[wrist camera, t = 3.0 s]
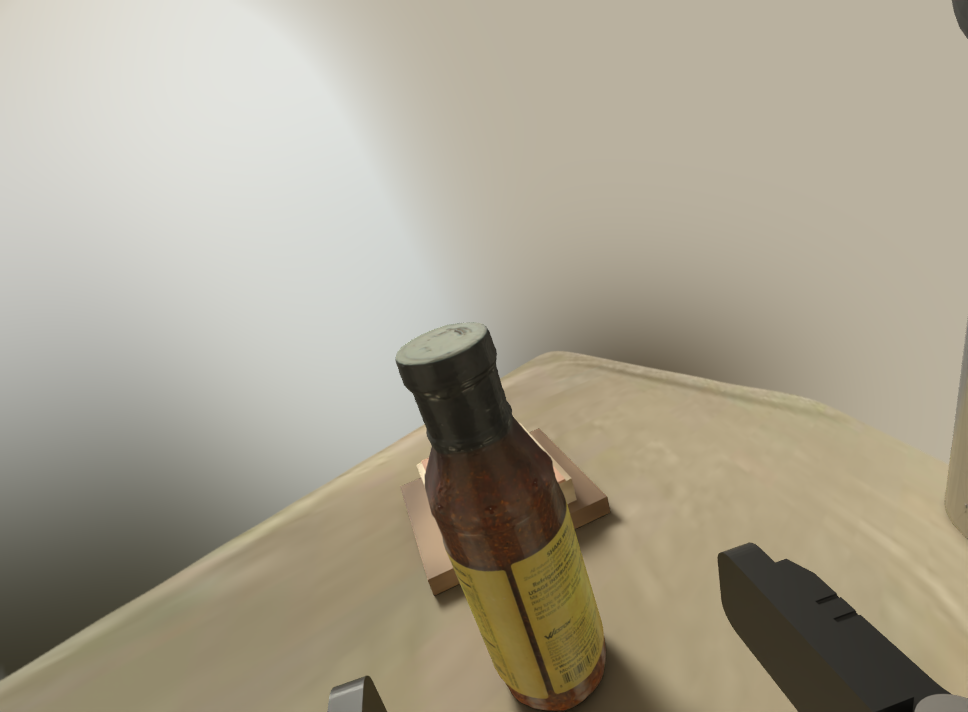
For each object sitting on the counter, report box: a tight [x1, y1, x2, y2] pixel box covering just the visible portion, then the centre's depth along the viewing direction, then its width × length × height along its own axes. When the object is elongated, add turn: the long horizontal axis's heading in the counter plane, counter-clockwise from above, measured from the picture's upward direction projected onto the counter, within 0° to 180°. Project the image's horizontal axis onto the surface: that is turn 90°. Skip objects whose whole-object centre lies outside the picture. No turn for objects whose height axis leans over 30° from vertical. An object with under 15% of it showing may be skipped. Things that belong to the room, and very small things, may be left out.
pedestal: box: [400, 423, 610, 596], centre depth 39 cm, size 14×12×4 cm
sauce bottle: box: [396, 323, 606, 711], centre depth 23 cm, size 6×6×20 cm
